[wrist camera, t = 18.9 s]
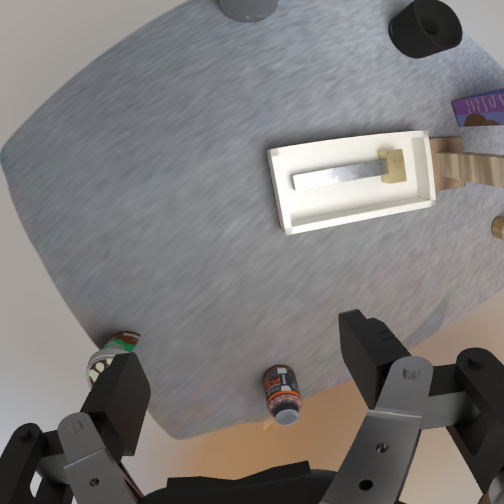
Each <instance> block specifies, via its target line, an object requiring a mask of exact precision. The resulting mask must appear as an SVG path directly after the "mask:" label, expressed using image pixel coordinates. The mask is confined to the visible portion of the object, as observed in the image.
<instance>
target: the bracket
mask: <svg viewBox="0 0 504 504" xmlns="http://www.w3.org/2000/svg"><path fill="white" fill-rule="evenodd" d="M429 142H430V149H431V157H432V166H433V175H434V185H435V191H439V190H445V189H451V188H457V187H463V186H466V185H465V181H470V182H476V183H481V184H486V185H491V186H496V187H501V188H504V155H497V154H484V153H470V152H462V144H461V137H449V138H434V139H429Z"/></svg>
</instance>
